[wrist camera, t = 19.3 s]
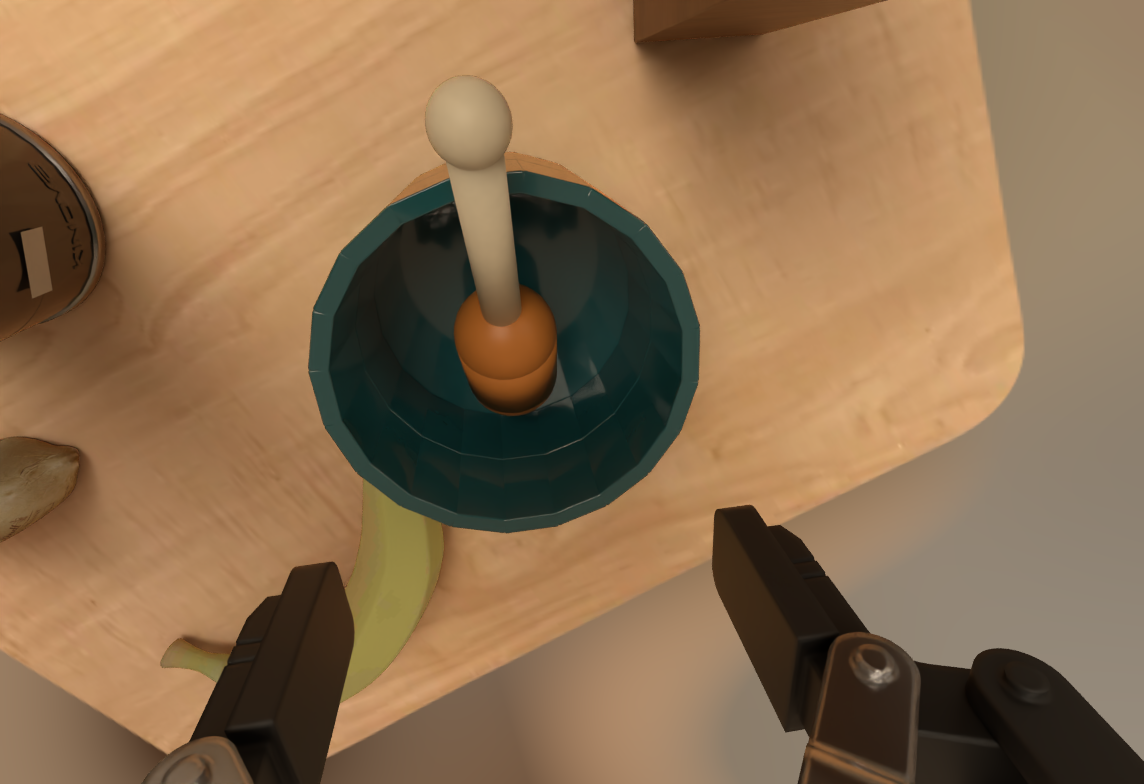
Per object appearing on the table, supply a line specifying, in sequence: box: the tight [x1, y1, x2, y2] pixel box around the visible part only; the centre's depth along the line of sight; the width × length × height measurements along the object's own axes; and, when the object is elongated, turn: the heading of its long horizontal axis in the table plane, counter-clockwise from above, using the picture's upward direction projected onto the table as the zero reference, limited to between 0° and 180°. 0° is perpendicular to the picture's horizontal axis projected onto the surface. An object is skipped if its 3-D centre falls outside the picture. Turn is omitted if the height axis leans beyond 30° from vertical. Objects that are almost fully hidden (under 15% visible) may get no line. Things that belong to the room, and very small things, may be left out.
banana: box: [160, 478, 444, 703], centre depth 35 cm, size 14×6×20 cm
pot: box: [308, 152, 700, 533], centre depth 26 cm, size 14×14×10 cm
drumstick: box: [425, 75, 557, 416], centre depth 23 cm, size 4×19×4 cm
